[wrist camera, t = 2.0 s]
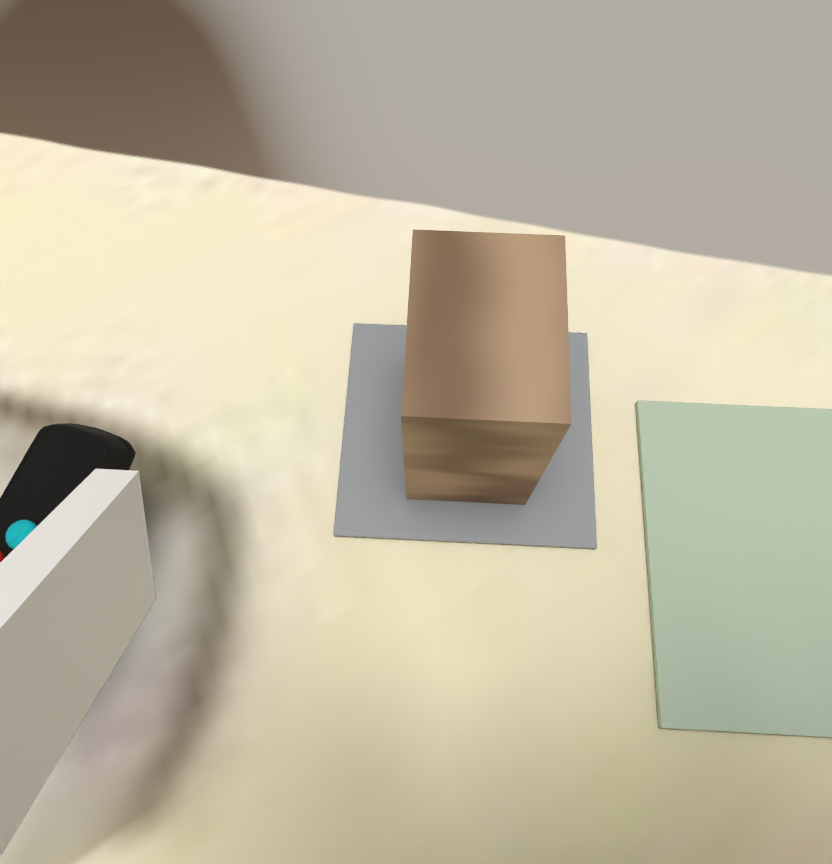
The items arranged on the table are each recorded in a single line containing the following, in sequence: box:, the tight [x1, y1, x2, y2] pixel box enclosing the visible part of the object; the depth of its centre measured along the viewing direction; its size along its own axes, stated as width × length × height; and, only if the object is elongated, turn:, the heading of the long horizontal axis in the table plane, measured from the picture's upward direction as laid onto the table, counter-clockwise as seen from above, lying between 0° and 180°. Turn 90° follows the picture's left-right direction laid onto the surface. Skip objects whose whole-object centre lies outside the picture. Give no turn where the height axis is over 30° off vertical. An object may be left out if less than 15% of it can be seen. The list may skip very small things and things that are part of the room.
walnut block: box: [401, 230, 571, 505], centre depth 30 cm, size 6×8×11 cm
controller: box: [0, 424, 135, 563], centre depth 28 cm, size 4×12×10 cm, turn 163°
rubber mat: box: [635, 401, 832, 737], centre depth 33 cm, size 14×16×1 cm
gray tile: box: [334, 323, 597, 549], centre depth 36 cm, size 13×12×1 cm
